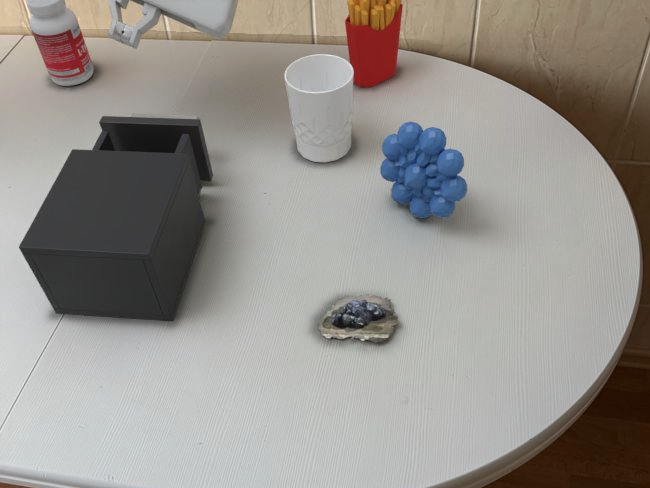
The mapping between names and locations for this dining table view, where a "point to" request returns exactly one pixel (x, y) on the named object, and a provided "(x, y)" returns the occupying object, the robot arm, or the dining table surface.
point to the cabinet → (117, 234)
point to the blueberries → (359, 319)
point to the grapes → (423, 170)
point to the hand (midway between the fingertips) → (122, 42)
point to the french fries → (373, 39)
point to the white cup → (321, 105)
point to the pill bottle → (60, 42)
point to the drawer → (158, 138)
